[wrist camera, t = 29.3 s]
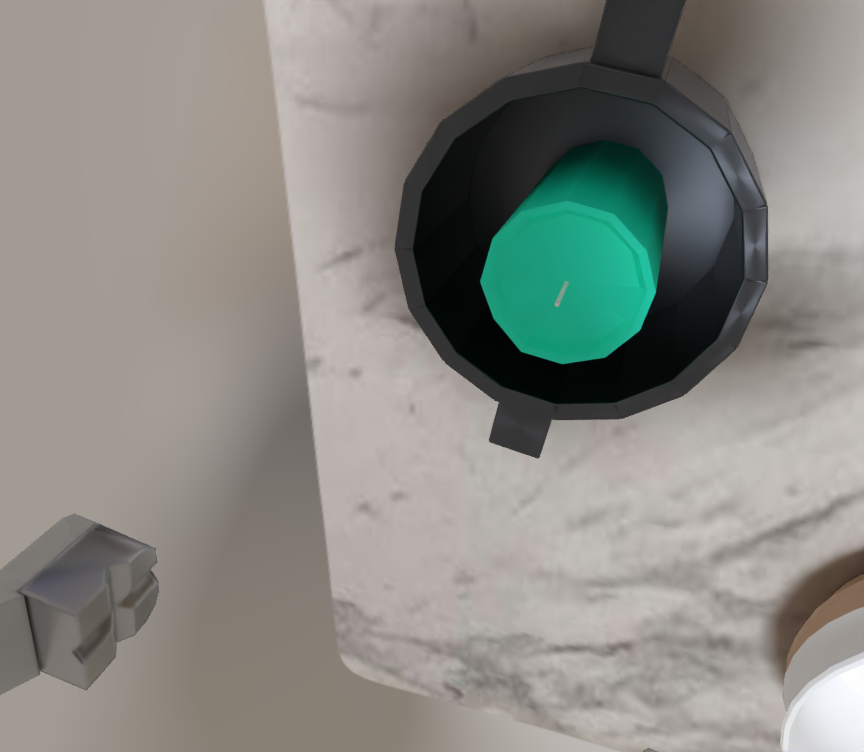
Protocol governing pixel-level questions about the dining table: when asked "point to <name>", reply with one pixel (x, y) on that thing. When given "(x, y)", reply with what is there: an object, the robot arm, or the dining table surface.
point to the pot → (524, 167)
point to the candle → (580, 255)
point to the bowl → (827, 677)
